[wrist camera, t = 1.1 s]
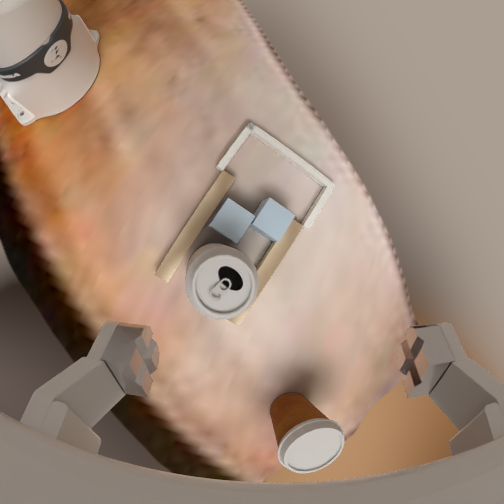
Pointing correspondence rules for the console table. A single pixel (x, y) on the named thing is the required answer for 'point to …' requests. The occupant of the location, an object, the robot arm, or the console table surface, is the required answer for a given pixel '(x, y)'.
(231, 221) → the light blue boxy piece
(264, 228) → the light blue cubic block
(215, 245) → the can
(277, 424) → the disposable coffee cup
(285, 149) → the white u-shaped frame
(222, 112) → the console table surface
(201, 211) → the slot rails
